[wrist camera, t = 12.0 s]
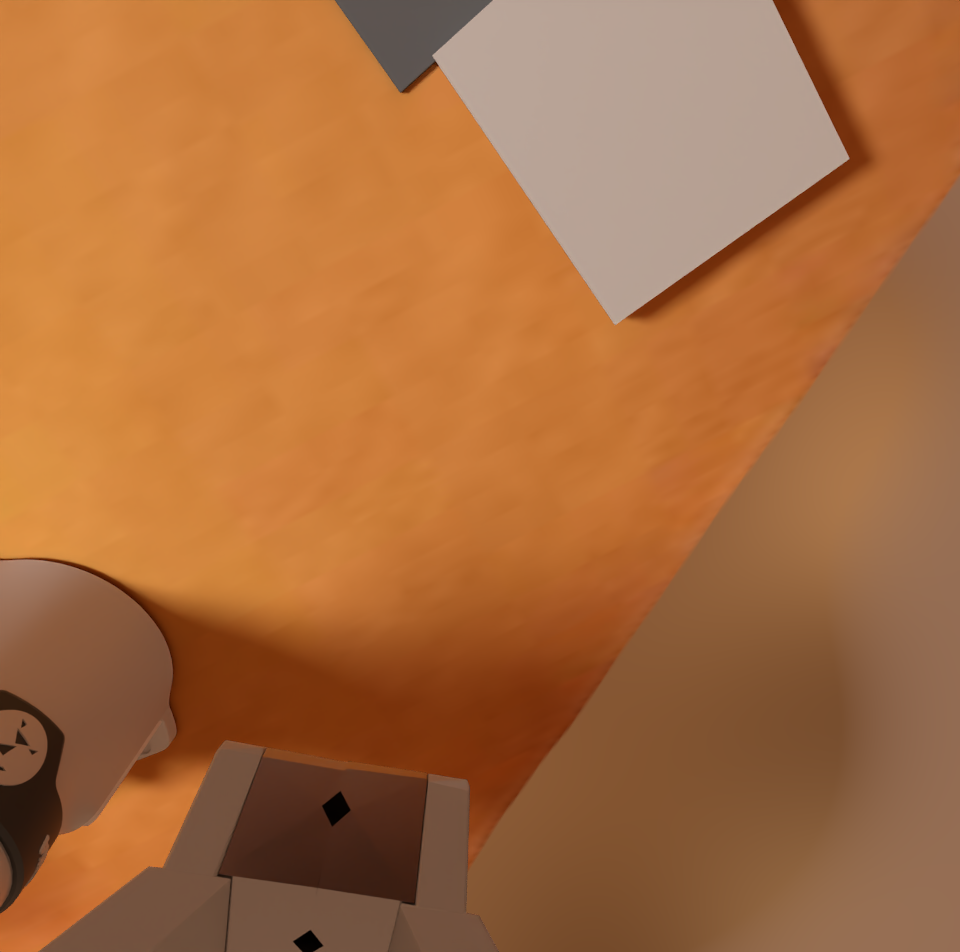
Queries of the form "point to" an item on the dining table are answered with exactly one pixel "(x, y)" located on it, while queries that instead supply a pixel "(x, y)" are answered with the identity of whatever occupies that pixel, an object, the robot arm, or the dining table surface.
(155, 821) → the dining table surface
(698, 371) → the dining table surface
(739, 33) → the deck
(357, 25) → the mat
